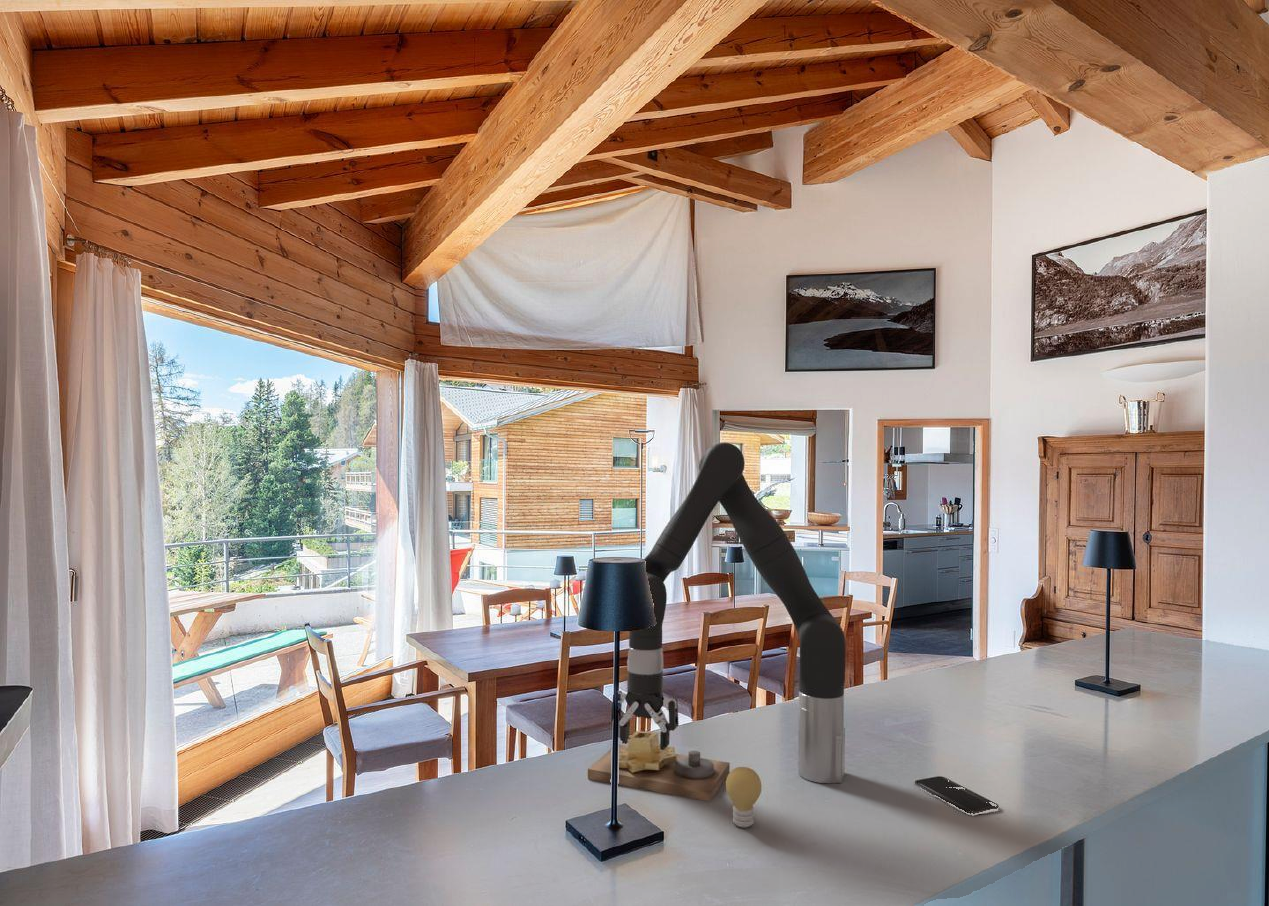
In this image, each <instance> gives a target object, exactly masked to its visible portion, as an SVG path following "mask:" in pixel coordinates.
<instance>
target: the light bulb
mask: <svg viewBox="0 0 1269 906" xmlns="http://www.w3.org/2000/svg"><path fill="white" fill-rule="evenodd" d="M725 779H726V780H725V789H726V794H727V795H728V797H729V799H730V800H731V801H732V803H733V806H732V823H733V824H734V825H735V826H737V827H738V828H745V829H746V828H749V827H752V825H753V824H754V823H755V821H754V820H755V818H754V817H755V813H754V812H755V808H754V805H755V803H756V802H757V801H758V799H759V798H760V795H761V793H762V781H761V778H760V776H759V774H758V773H757V772H756V771H755V770H754V769H753V768H750V767H747V766H737V767H735V768H733V769H732V770H730V771H729V774H728V775H727V777H726V778H725Z"/></svg>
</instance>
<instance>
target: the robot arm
mask: <svg viewBox="0 0 1269 906" xmlns="http://www.w3.org/2000/svg"><path fill="white" fill-rule="evenodd" d="M745 463H746V462H745V458H744V455H743V452H742V451H741V449H740V448H739V447H737V446H736V445H735V444H733V443H729V442H719V443H716V444H714V445H712V446H711V447H709V448H708V449H707V450H706V451H705V453H703V455H702V456H701V458H700V460H699V463H698V469H699V471H698V474H697V477H696V479H695V481H694V483H693V485H692V487H691V489H690V490H689V492H688V494H687V495H686V497H685V499H684V500H683V502H682V503H681V505H680V506H679V507H678V509H677V510H676V512H675V513H674V514H673V515H672V517H671V518H670V520H669V521H668V523H667V524H666V526H665V527H664V528H663V530H662V531H661V533H660V535H659V537H658V538H657V539H656V542H655V544H654V545H653V546H652V549H651V550H650V552H649V553H648V554H647V555H646V556H645V557H644V558H643V560H645V561H646V572H647V576H648V581H649V585H650V591H651V594H652V599H653V603H654V614H655V617H656V622H657V624H656V625H655V626H653V627H650V628H647V629H641V630H634V631H629V634H628V635H629V636H628V637H629V638H628V652H627V662H626V667H627V676H626V677H627V681H626V682H627V686H626V687H627V688H626V690H627V692H626V693H625V692H622V691H621V690H618V691H617V692H618V713H619V723H618V725H619V738H620V741H621V742H622V745H623V744H624V745H628V738H629V737H630V723H629V721H630V720H631V719H632V717H633V716H635V717H636V718H645V719H647V720H648V719H649V720H651V719H652V720H653V722H654V723H655V724H656V725H657V726H658V728H659V729H660V733H659V734H660V735H659V738H660V740H659V745H660V750H665V749H666V747H667V746H669V745H670V734H671V733H670V732H671V731H673V732H674V731H675V730H676V729H677V728H678V727H679V724H680V723H679V705H678V699H677V698H676V697H673V698H672V699H669V698H668V699H667V698H665V697H664V694H663V693H664V692H663V691H664V651H663V623H664V620H665V615H666V608H667V600H668V597H667V595H668V593H667V588H666V585H665V581H666V579H667V578H668V576H669V575H670V574H671V573H672V572H675V571H677V570H678V569H679V568H680V566H681V565H682V564H683V562H684V560H685V559H686V557H687V555H688V554H689V552H690V550H691V549H692V548H693V545H694V544H695V542H696V540H697V538H698V536H699V534H700V533H701V531H702V529H703V528H704V526H705V523H706V522H707V520H708V518H709V517H710V515H711V513H712V512H713V510H714V509H715V507H716V506H717V504H718V503H720V505H721V507H722V508H723V510H724V511H725V512H726V515H727V516H728V518H729V520H730V522H731V525H732V526H733V529H734V531H735V533H736V534H737V536H738V538H739V540H740V542H741V543H742V545H743V547H744V550H745V551H746V553H747V555H748V556H749V558H750V560H751V562H752V563H753V566H754V567H755V568H756V570H757V571H758V573H759V574H760V576H761V577H762V579H763V580H764V582H766V583H767V585H768V586H769V587H770V589H771V590H772V591H773V593H774V594H775V595H776V596H777V597H778V598H779V600H780V601H781V602H782V604H783V605H784V607H785V609H786V612H787V613H788V615H789V617H790V619H791V621H792V623H793V625H794V627H795V630H796V632H797V635H798V638H799V673H798V677H799V678H798V741H797V742H798V753H797V754H798V761H797V764H798V765H797V767H798V768H797V770H798V771H797V773H798V774H799V776H800V777H802V778H804V779H806V780H808V781H809V782H810V781H811V782H815V783H818V784H819V783H820V784H834V783H837V784H838V783H839V784H842V783H843V779H844V778H845V777H844V776H845V772H846V770H845V767H846V765H845V763H846V753H845V752H846V746H845V745H846V728H845V727H844V722H845V719H844V717H845V716H844V715H845V706H844V705H845V682H846V657H847V656H846V655H847V654H846V652H847V651H846V650H847V649H846V636H845V634H844V631H843V628H842V627H841V625H840V623H839V622H838V621H837V619H836V618H835V617H834V616H833V615H832V613H831V612H830V611H829V609H828V608H827V607H826V605H825V603H824V602H823V601H822V599H821V598H820V597H819V595H818V594H817V593H816V591H815V589H814V588H813V586H812V584H811V582H810V579H809V577H808V575H807V572H806V569H805V568H804V565H803V563H802V562H801V560H800V559H801V558H800V557H799V555H798V553H797V551H796V549H795V547H794V546H793V544H792V542H791V541H790V539H789V537H788V536H787V534H786V532H785V530H784V529H783V528H782V526H781V525H780V524H779V523H778V521H777V520H776V519H775V517H773V515H772V514H771V513H770V512H769V511H768V510H767V509H766V508H765V506H763V504H761V502H760V501H758V499H757V498H756V496H755V495H754V493H753V492H752V490H751V488H750V486H749V484H748V482H747V480H746V479H745V475H744V474H743V473H744V470H745ZM624 702H626V704H627V705H628V707H629V708H628V710H627V711H626V712H625V713H624V715H622V706H623V703H624ZM611 703H612V706H611V718H610V719H611V721H612V722H613V719H614V694H612V702H611ZM663 707H665V709H666V710H667V712H668V719H667V718H666V715H665V713H664V711H663V709H662V708H663Z"/></svg>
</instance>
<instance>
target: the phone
mask: <svg viewBox="0 0 1269 906" xmlns="http://www.w3.org/2000/svg"><path fill="white" fill-rule="evenodd" d="M948 780H949V782H948ZM915 785H916V786H918V787H921V788H922V789H924V790H926V791H927V792H929V793H931V794H932V795H936V796H938V797H940V798H941V799H943V800H945V801H946V802H949V803H951V804H953V805H955V806H956V807H958V808H959V809H962V810H964V811H965V812H967V813H970V814H971V813H973V814H975V813H979V812H983V811H986V810H990V809H997V808H998V807H999V808H1000V806H999V804H998V803H996V802H994V801H991V800H990V799H988V798H986V797H984V796H982V795H980V794H978V793H977V792H974V791H972V790H971V789H968V788H966V787H964V786H963V785H961V784H959V783H958V782H957V783H956V782H955V781H953V780H951V779H949V778H947V777H945V776H941V775H937V776H933V777H927V778H921V779H917V780H915V781H914V786H915ZM916 786H915V787H916ZM946 787H947V788H946ZM949 787H952V788H949ZM953 787H963V788H965V790H964V789H959V790H958V789H956V788H953ZM927 792H926V793H927ZM932 795H931V796H932ZM986 802H987V803H986ZM989 802H992V803H994V804H996V805H997V806H996V807H995V806H992V805H991V804H990V803H989Z"/></svg>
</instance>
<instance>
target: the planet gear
mask: <svg viewBox="0 0 1269 906" xmlns="http://www.w3.org/2000/svg"><path fill="white" fill-rule="evenodd" d="M642 737H646V738H642ZM659 738H660V736H659V731H643V730H642V731H641V730H640V731H638V730H636V731H635V732H633V734H631V735H629V738H628V743H627V746H628V748H627V749H625V750H621V751H619V768H627V769H629V770H630V771H631V772H632V773H633V772H637V771H641V770H645V769H649V770H660V769H661V768H662V766H663V765H665V764H669V763H673V762H677V759H676V755H674V754H676V751H675V750H676V749H675V746H669V745H668V746H667V747H666V749H665V750H660V740H659Z"/></svg>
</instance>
